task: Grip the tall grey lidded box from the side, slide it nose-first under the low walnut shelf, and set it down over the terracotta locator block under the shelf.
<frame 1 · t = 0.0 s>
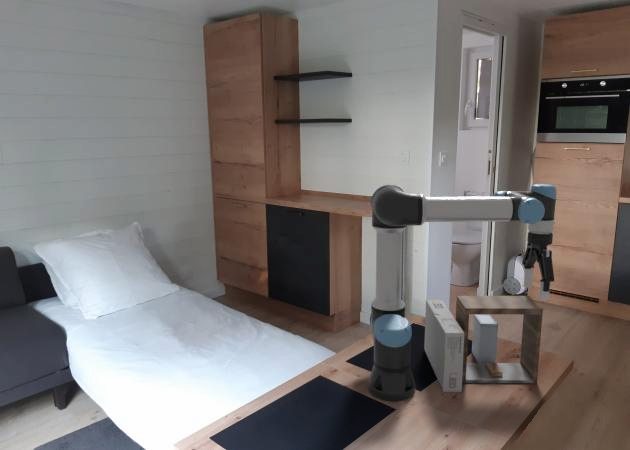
hand: (535, 293, 164), 28 cm above the table, tool pointing down, fingers open, 13 cm apart
packaging: (441, 369, 172), on the table
walnut shelf: (493, 373, 168), on the table
tall grey lidded box: (483, 357, 179), on the table
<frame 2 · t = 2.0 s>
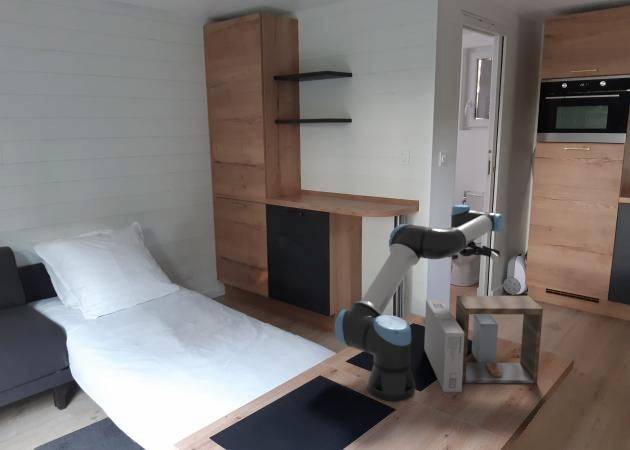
hand: (479, 259, 185), 34 cm above the table, tool horizontal, fingers open, 13 cm apart
nothing on the table moved.
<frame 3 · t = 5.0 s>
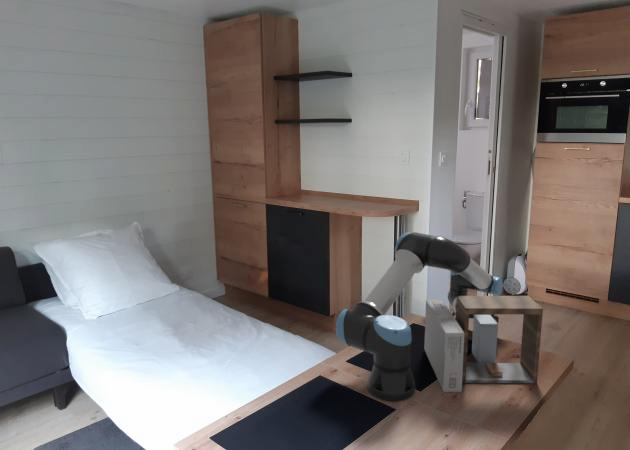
hand: (478, 327, 186), 8 cm above the table, tool horizontal, fingers open, 13 cm apart
nothing on the table moved.
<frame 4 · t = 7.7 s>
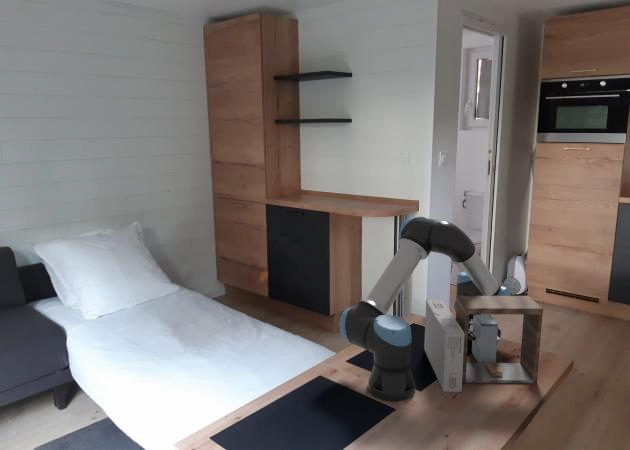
hand: (488, 342, 173), 8 cm above the table, tool horizontal, fingers closed on tall grey lidded box, 6 cm apart
tall grey lidded box: (483, 357, 179), on the table, touching gripper
everything else where it was.
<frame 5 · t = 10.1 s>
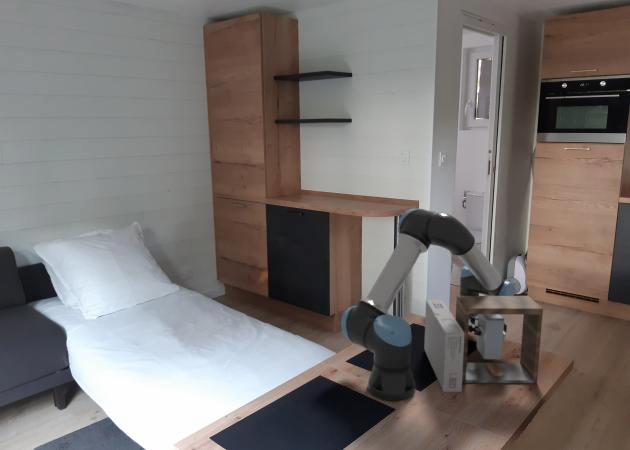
hand: (494, 337, 168), 12 cm above the table, tool horizontal, fingers closed on tall grey lidded box, 6 cm apart
tall grey lidded box: (488, 353, 175), point 4 cm above the table, touching gripper
everything else where it was.
when the fingers open (10 cm above the table, at t = 12.4 s): tall grey lidded box stays where it is, resting on walnut shelf.
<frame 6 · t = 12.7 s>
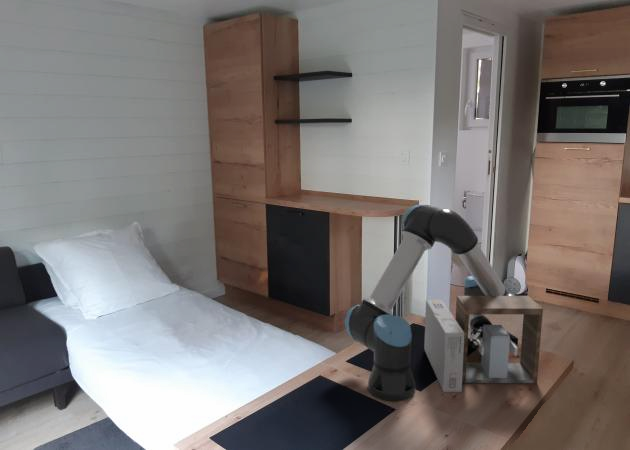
hand: (499, 351, 162), 10 cm above the table, tool horizontal, fingers open, 10 cm apart
tall grey lidded box: (493, 371, 168), point 1 cm above the table, touching walnut shelf
everything else where it was.
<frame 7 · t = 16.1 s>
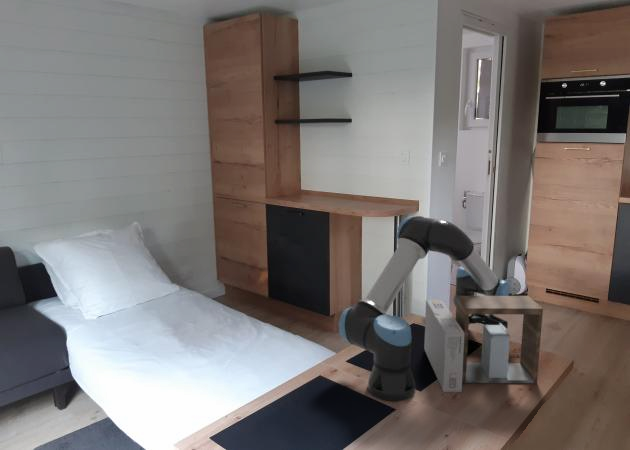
hand: (486, 333, 176), 10 cm above the table, tool horizontal, fingers open, 13 cm apart
nothing on the table moved.
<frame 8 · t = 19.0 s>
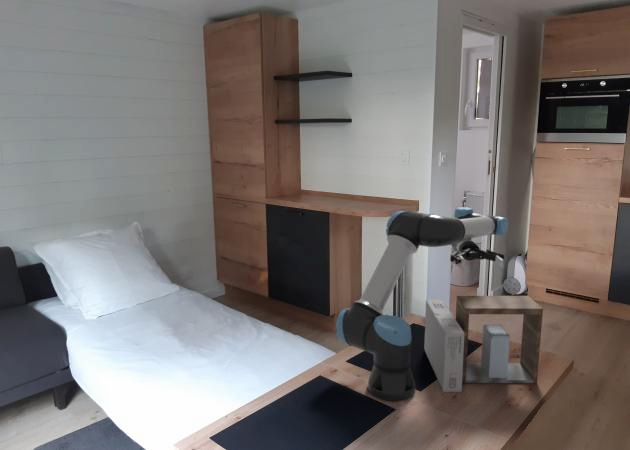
hand: (483, 263, 179), 34 cm above the table, tool horizontal, fingers open, 13 cm apart
nothing on the table moved.
at the end: tall grey lidded box 0.0 cm off-centre on the walnut shelf, point 1.0 cm above the walnut shelf's base; tall grey lidded box tilted 0°; the gripper is holding nothing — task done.
